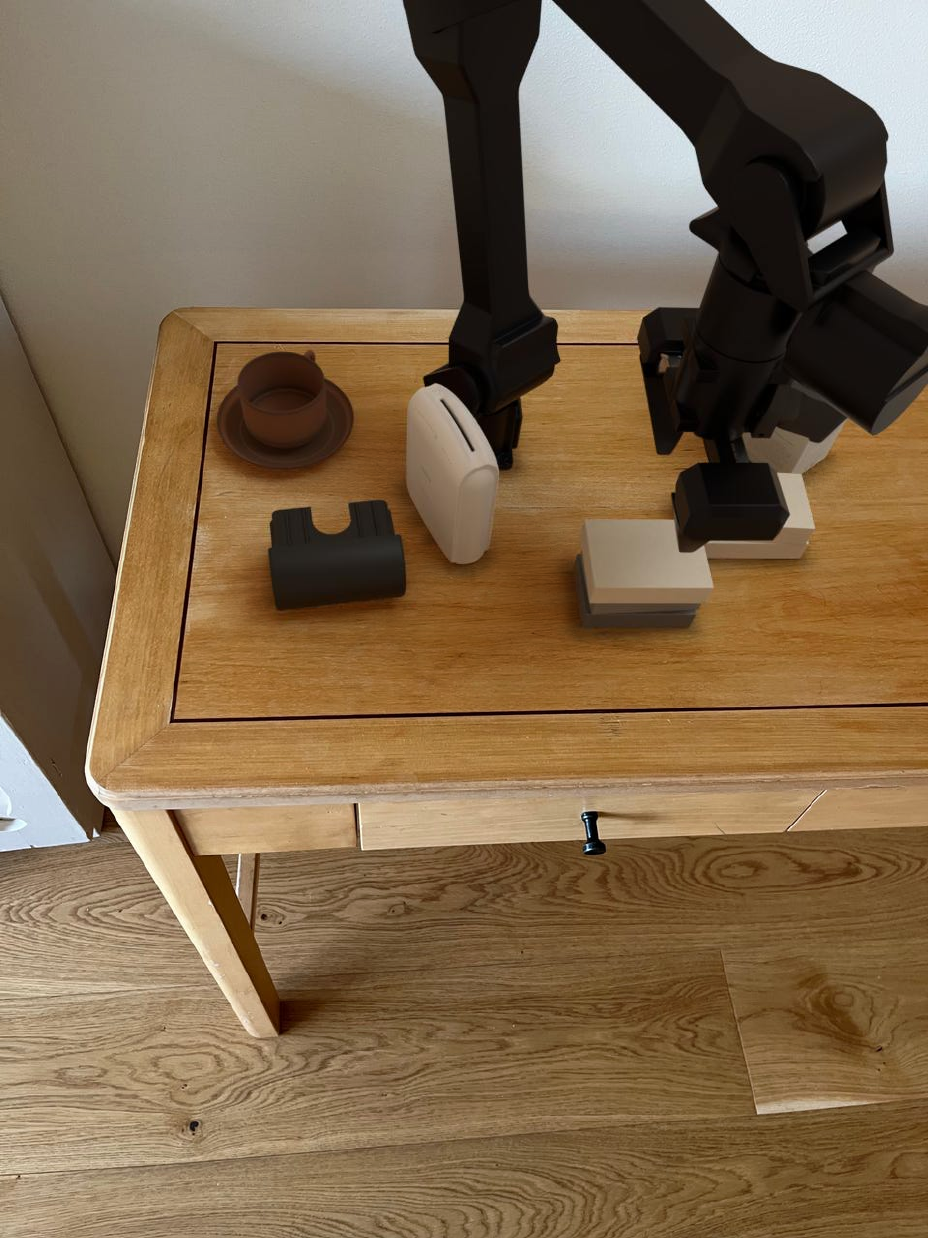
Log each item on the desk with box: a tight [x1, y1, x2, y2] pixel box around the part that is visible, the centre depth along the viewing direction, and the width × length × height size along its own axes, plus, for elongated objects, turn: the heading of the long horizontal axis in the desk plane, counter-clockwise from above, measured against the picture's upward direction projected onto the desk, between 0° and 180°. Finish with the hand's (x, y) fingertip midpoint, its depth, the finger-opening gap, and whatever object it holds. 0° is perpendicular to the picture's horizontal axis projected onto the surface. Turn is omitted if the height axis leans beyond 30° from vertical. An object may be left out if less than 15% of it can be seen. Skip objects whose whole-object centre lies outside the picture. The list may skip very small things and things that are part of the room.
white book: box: [579, 518, 714, 604], centre depth 72 cm, size 9×7×2 cm
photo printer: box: [405, 383, 500, 565], centre depth 75 cm, size 10×4×12 cm, turn 26°
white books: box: [704, 473, 816, 560], centre depth 80 cm, size 9×6×4 cm
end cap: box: [267, 499, 407, 612], centre depth 72 cm, size 10×7×7 cm
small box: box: [742, 418, 848, 475], centre depth 82 cm, size 8×6×13 cm
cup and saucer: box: [216, 349, 355, 472], centre depth 81 cm, size 12×12×6 cm
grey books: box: [572, 548, 703, 629], centre depth 75 cm, size 9×6×4 cm
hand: (674, 500), depth 68 cm, fingers open, 9 cm apart
